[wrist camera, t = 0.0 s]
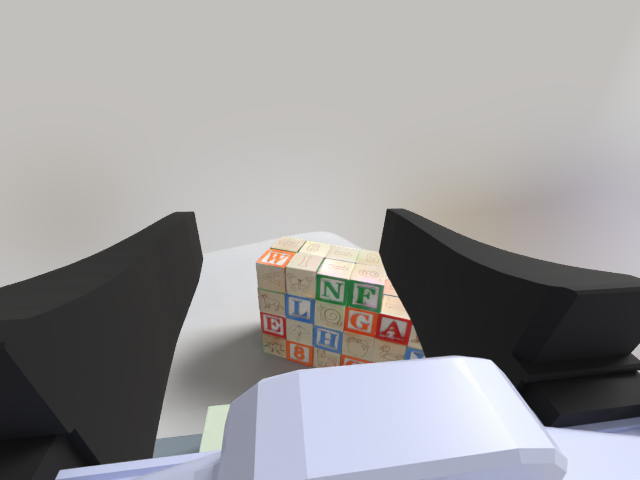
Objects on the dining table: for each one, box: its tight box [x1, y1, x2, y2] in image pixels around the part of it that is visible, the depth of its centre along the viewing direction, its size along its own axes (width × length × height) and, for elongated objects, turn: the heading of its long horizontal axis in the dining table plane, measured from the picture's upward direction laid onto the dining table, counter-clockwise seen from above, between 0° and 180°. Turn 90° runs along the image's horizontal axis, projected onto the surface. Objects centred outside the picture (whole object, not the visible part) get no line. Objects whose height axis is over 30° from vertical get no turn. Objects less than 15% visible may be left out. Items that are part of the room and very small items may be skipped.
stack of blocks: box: [256, 237, 426, 368], centre depth 31 cm, size 21×6×12 cm, turn 73°
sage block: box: [199, 404, 230, 453], centre depth 22 cm, size 4×4×4 cm
